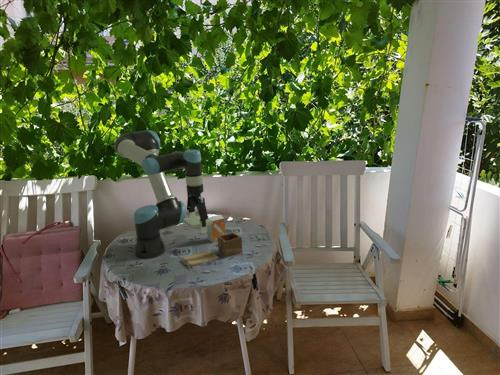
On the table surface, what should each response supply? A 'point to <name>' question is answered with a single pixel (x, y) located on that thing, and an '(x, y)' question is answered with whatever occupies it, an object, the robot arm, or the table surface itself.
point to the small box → (216, 228)
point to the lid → (195, 222)
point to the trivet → (200, 258)
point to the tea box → (230, 244)
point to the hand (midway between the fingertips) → (198, 229)
